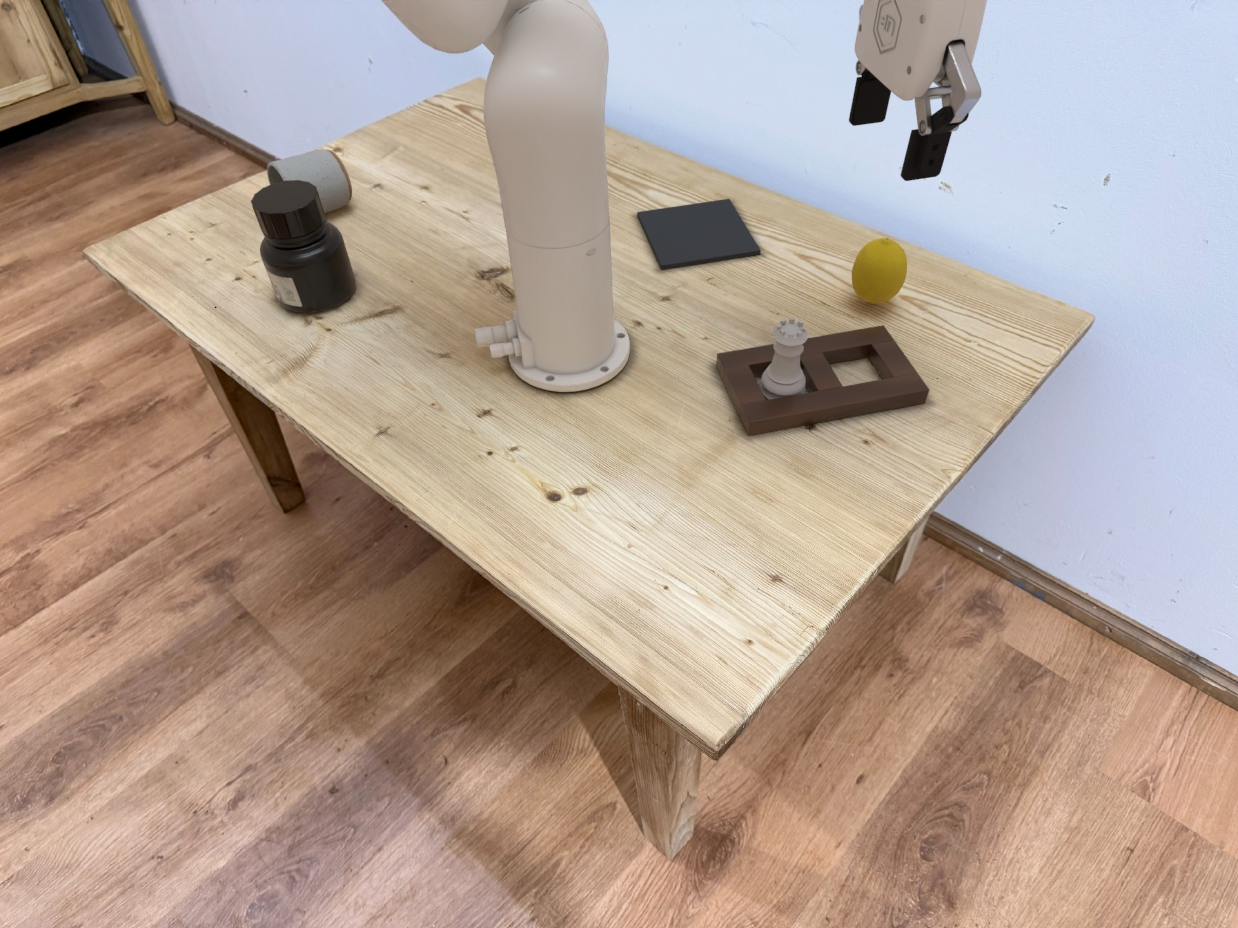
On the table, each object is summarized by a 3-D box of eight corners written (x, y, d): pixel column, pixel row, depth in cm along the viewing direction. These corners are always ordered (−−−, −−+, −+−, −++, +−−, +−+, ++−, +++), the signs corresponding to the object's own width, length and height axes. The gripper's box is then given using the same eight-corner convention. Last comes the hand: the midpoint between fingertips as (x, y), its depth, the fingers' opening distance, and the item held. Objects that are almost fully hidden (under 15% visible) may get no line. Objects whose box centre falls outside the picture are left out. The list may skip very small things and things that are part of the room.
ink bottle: (276, 276, 99) (240, 181, 91) (352, 261, 101) (324, 167, 92) (280, 324, 93) (241, 228, 84) (361, 308, 95) (331, 211, 86)
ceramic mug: (362, 210, 109) (346, 153, 103) (304, 234, 105) (283, 176, 100) (323, 181, 114) (306, 126, 109) (267, 203, 111) (246, 147, 105)
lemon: (898, 321, 90) (915, 256, 85) (845, 315, 91) (858, 251, 85) (897, 290, 94) (913, 226, 88) (846, 285, 95) (859, 222, 89)
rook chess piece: (753, 400, 83) (761, 335, 77) (765, 371, 85) (774, 307, 80) (798, 411, 81) (810, 346, 76) (809, 382, 84) (821, 317, 78)
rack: (925, 403, 82) (929, 389, 80) (747, 436, 79) (749, 422, 78) (880, 338, 88) (883, 324, 87) (715, 366, 86) (716, 353, 85)
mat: (661, 270, 98) (661, 265, 98) (637, 216, 106) (637, 212, 106) (760, 254, 100) (760, 250, 99) (729, 202, 108) (729, 198, 107)
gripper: (843, -116, 63) (809, 109, 76) (961, -44, 52) (897, 208, 64) (935, -125, 64) (886, 99, 77) (1070, -55, 53) (987, 194, 66)
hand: (891, 148), depth 71 cm, fingers open, 9 cm apart
